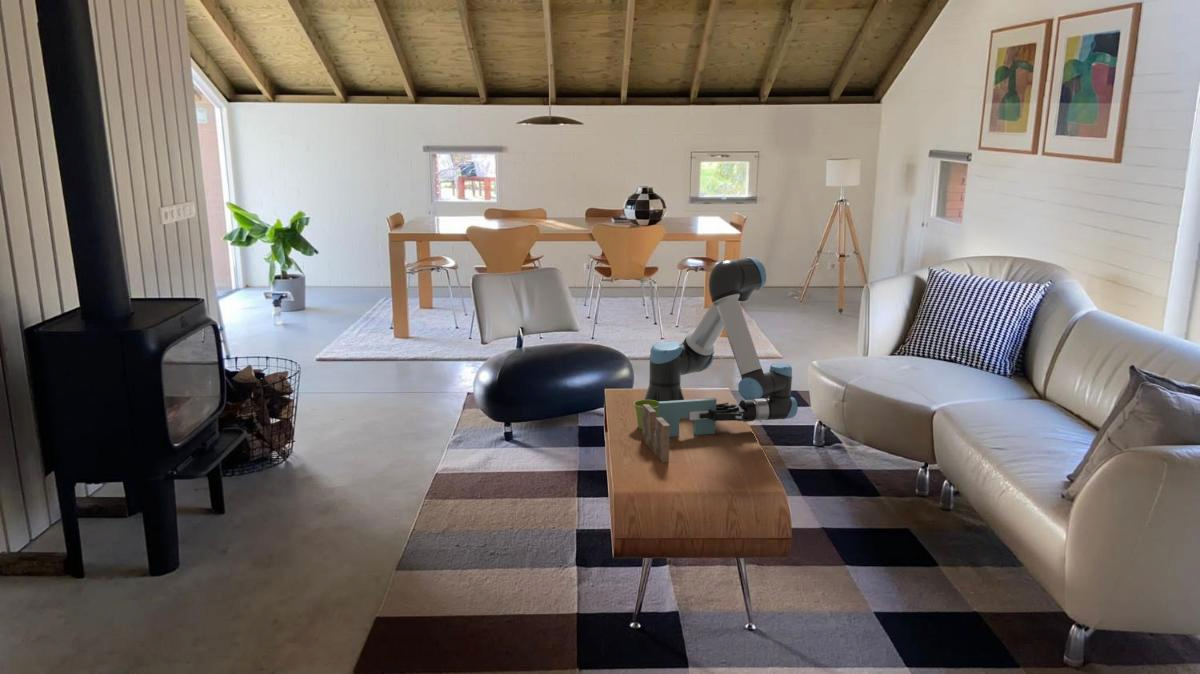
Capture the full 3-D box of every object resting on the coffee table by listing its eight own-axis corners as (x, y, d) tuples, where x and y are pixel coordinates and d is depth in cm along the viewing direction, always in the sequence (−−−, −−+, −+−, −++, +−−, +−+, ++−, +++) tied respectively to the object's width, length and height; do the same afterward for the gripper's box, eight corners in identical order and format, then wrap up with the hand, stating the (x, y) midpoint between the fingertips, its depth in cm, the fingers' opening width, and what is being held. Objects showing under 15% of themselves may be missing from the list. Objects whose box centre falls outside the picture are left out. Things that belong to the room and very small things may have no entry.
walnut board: (642, 438, 280) (642, 404, 278) (647, 438, 281) (648, 404, 278) (662, 462, 260) (663, 425, 257) (668, 462, 260) (669, 425, 257)
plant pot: (640, 433, 286) (641, 408, 284) (628, 424, 294) (629, 401, 292) (665, 429, 290) (665, 405, 288) (652, 421, 298) (652, 398, 296)
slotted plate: (657, 435, 284) (658, 401, 281) (712, 431, 288) (714, 397, 286) (659, 437, 282) (660, 403, 279) (715, 433, 287) (716, 399, 284)
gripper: (761, 427, 283) (695, 432, 277) (743, 413, 297) (680, 418, 292) (762, 406, 281) (696, 410, 276) (744, 393, 296) (681, 397, 290)
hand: (688, 414), depth 284 cm, fingers closed on slotted plate, 2 cm apart
